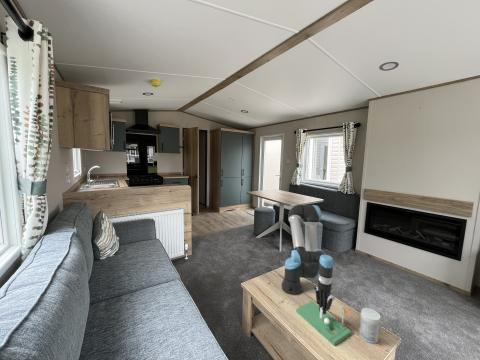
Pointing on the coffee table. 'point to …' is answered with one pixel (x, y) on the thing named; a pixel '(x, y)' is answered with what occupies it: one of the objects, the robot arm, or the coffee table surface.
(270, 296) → the coffee table surface
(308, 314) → the putting strip
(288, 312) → the coffee table surface
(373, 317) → the supplement tub
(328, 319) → the ball
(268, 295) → the coffee table surface
